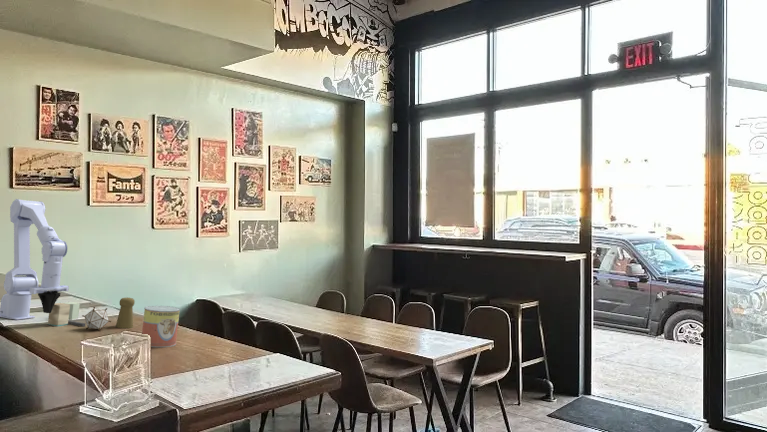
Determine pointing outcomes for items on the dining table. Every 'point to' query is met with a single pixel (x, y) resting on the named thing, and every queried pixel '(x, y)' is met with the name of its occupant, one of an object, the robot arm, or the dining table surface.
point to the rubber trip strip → (76, 323)
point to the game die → (96, 318)
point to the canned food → (161, 325)
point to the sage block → (73, 310)
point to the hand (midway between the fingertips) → (47, 312)
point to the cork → (125, 313)
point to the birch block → (59, 314)
